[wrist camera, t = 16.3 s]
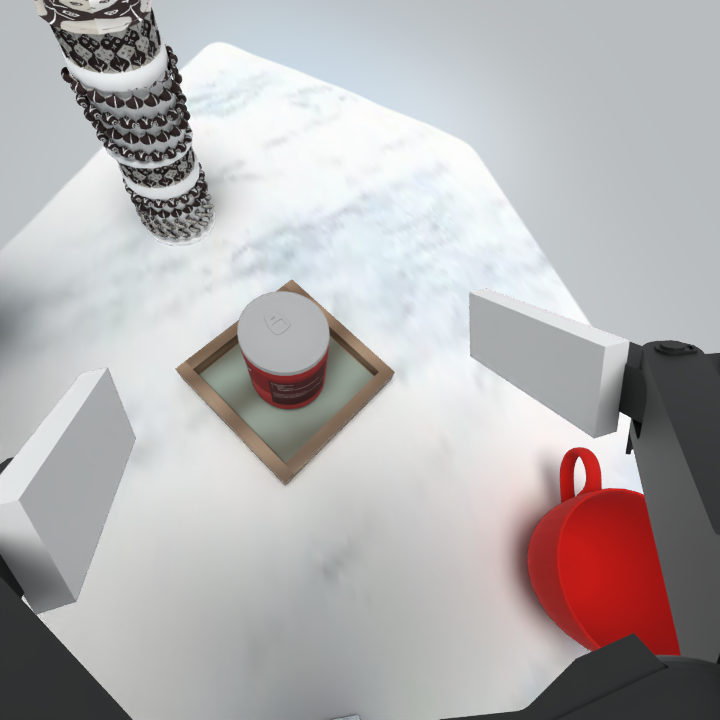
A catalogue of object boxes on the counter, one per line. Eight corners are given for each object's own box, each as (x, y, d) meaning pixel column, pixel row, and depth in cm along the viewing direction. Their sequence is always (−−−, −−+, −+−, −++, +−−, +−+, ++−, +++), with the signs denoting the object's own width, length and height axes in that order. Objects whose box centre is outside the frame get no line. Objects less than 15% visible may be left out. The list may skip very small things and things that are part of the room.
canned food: (278, 332, 47) (270, 275, 37) (339, 367, 47) (347, 319, 37) (236, 386, 44) (215, 340, 34) (300, 425, 44) (298, 390, 34)
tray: (181, 377, 45) (175, 368, 43) (292, 290, 51) (291, 279, 49) (285, 485, 42) (284, 482, 40) (390, 379, 48) (394, 372, 45)
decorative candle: (225, 242, 52) (162, 11, 30) (145, 254, 50) (13, 17, 28) (212, 187, 56) (147, -60, 33) (137, 196, 54) (13, -60, 31)
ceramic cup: (592, 456, 47) (661, 436, 38) (645, 635, 40) (744, 662, 31) (481, 465, 45) (526, 446, 36) (518, 653, 38) (585, 688, 29)
